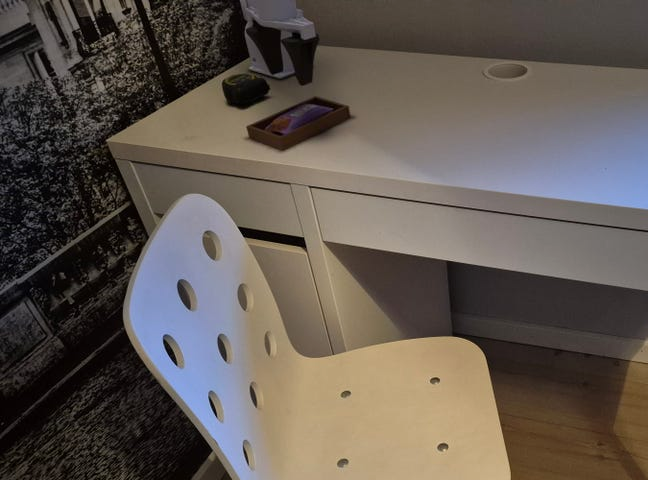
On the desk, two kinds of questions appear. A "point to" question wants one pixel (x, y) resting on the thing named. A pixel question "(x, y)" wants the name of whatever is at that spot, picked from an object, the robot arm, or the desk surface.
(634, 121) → the desk surface
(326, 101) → the tray
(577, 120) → the desk surface
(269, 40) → the robot arm
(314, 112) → the snack package
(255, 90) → the tape measure
